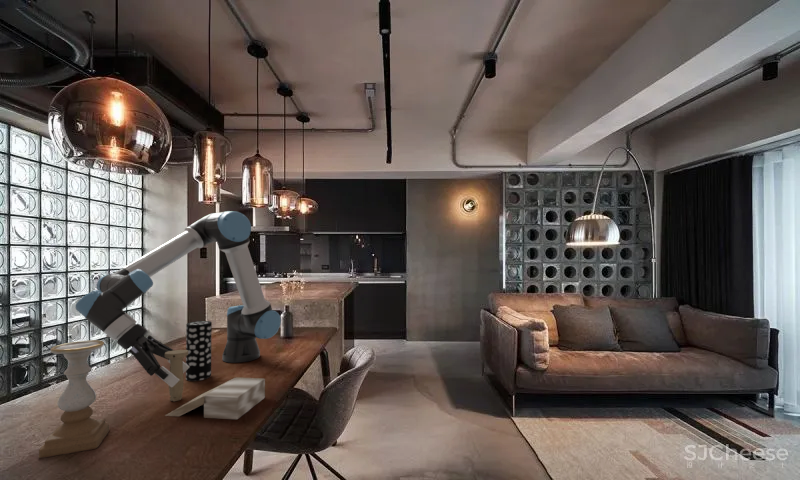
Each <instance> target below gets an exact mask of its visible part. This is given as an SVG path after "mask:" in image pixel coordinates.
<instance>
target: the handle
mask: <svg viewBox="0 0 800 480" xmlns="http://www.w3.org/2000/svg"><path fill="white" fill-rule="evenodd" d="M187 355H188V350H186V349H173V351H168V352H165V358H167V359H166V360H168V359H169V360H170V363H169V371H170V372H171V373H172V374H173V375H175V376H176V377H177V378H178V379H180V380H179V381H178V382H177V383H176V384H175V385H174V386H173V387H170V386H169V385H168V392H169V396H170V397H169V400H170V402H178V401H180V400H182V399H183V391H184V373H183V362H184V361H183V359H184V358H186V356H187ZM165 358H164V359H165Z"/></svg>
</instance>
